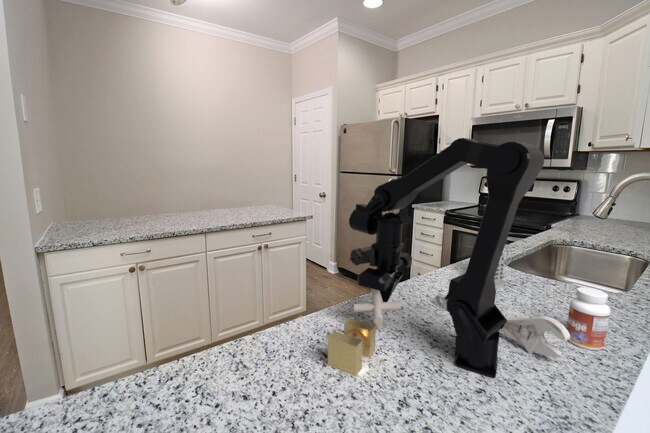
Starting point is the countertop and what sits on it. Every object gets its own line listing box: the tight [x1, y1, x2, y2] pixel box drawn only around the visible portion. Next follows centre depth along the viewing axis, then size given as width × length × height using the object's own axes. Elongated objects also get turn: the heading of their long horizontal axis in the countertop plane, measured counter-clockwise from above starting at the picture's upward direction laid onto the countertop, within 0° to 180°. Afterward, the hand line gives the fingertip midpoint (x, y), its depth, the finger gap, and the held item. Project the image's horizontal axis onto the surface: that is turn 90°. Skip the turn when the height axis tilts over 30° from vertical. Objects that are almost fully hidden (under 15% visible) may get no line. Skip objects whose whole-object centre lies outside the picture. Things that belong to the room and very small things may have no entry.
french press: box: [494, 243, 513, 289], centre depth 93 cm, size 10×12×25 cm
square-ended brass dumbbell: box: [327, 317, 377, 377], centre depth 57 cm, size 8×6×6 cm, turn 148°
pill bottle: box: [565, 286, 611, 351], centre depth 62 cm, size 6×6×11 cm
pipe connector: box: [353, 288, 402, 330], centre depth 67 cm, size 10×10×10 cm
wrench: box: [434, 294, 570, 358], centre depth 67 cm, size 8×2×30 cm
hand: (385, 302), depth 73 cm, fingers closed
